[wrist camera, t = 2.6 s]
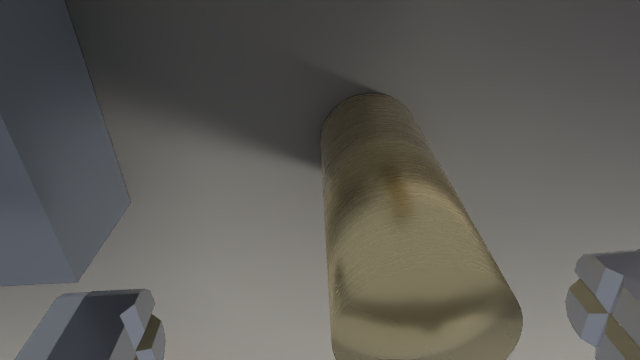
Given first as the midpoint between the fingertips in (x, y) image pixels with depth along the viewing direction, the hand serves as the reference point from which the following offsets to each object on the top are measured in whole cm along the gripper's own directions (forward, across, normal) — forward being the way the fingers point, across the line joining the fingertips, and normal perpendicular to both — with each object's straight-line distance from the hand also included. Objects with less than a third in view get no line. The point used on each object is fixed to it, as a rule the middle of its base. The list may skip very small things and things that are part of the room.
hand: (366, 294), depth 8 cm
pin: (+7, -1, 0) cm, 7 cm away
